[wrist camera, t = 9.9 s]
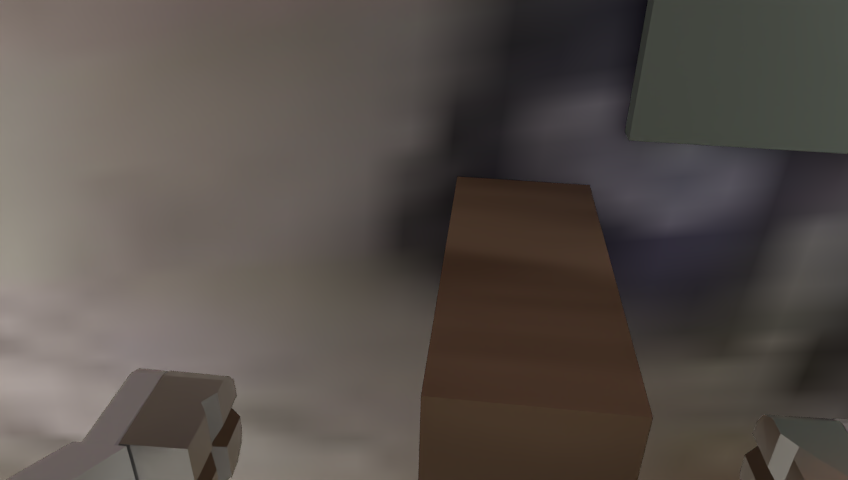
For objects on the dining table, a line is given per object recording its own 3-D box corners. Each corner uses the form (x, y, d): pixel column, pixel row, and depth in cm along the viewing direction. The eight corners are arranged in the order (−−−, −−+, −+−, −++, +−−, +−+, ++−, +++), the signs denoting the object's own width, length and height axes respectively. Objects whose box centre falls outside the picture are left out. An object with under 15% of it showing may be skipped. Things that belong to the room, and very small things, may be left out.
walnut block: (572, 296, 18) (614, 568, 11) (451, 286, 18) (416, 545, 11) (589, 184, 16) (653, 417, 9) (457, 176, 16) (421, 395, 9)
